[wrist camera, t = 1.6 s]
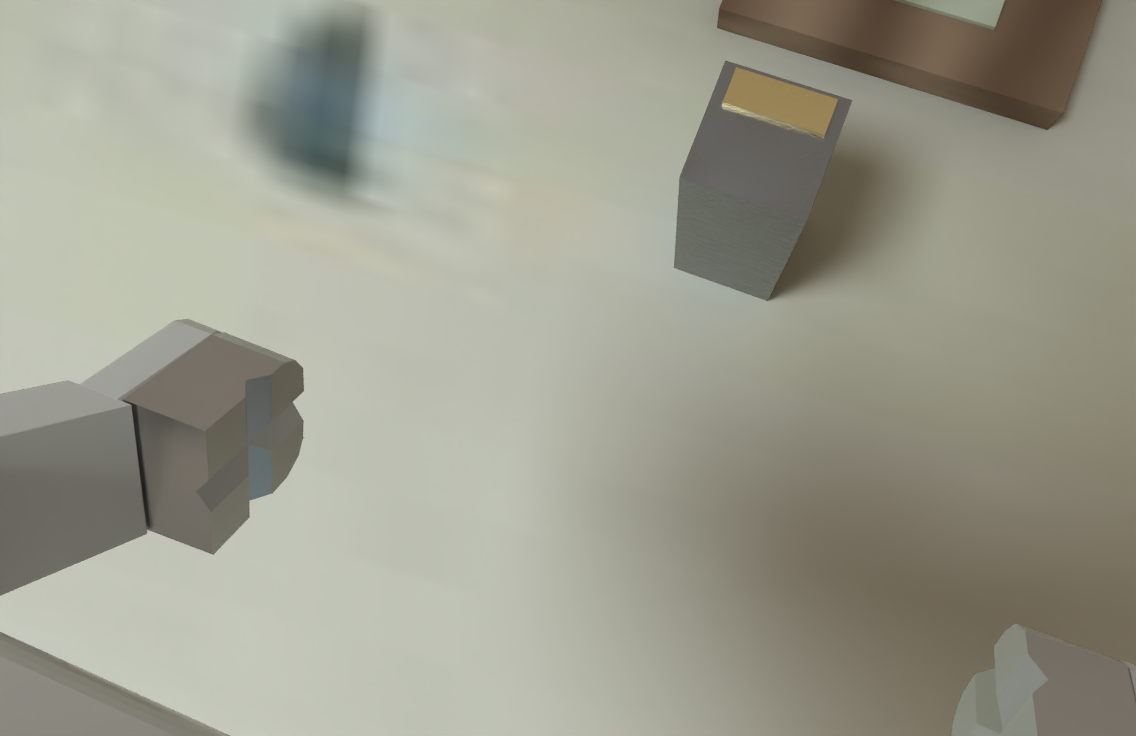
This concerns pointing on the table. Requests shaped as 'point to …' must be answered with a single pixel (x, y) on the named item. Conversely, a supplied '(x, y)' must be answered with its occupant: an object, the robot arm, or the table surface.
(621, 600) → the table surface
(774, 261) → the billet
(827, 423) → the table surface
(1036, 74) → the pallet
